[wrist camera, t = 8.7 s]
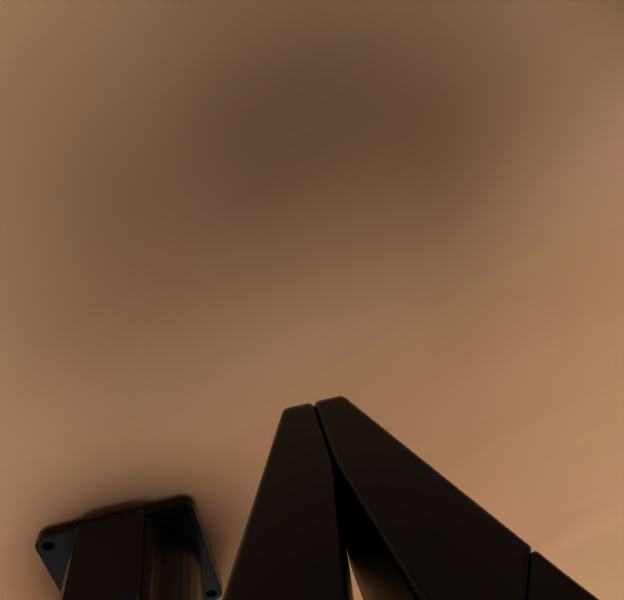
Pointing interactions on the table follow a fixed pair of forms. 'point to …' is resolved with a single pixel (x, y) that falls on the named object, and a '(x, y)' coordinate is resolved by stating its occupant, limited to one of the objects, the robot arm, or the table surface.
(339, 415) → the robot arm
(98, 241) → the table surface
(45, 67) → the table surface
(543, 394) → the table surface
